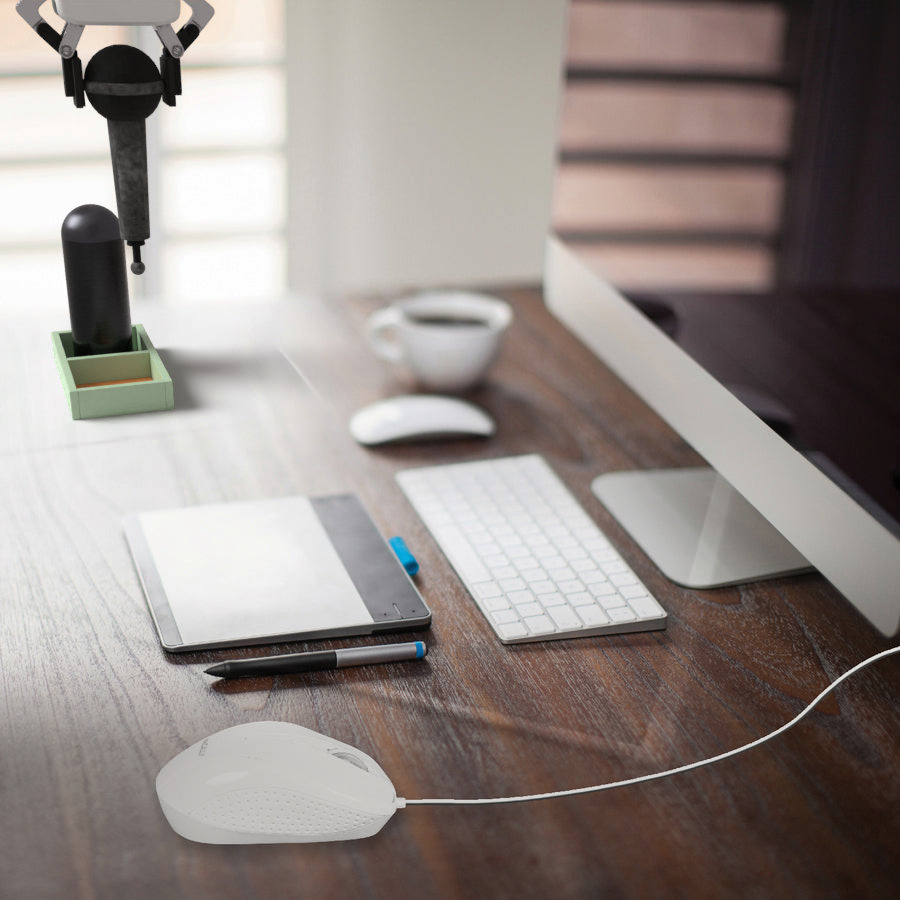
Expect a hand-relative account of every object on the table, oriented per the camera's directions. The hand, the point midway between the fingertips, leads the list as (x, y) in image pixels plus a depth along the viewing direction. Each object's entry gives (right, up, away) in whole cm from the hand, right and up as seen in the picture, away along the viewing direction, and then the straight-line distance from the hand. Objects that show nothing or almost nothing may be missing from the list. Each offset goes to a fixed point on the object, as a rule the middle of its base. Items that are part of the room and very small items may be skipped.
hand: (124, 103), depth 98 cm
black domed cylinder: (-11, -21, +29) cm, 37 cm away
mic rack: (-9, -23, +26) cm, 36 cm away
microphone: (-1, -14, +6) cm, 15 cm away
